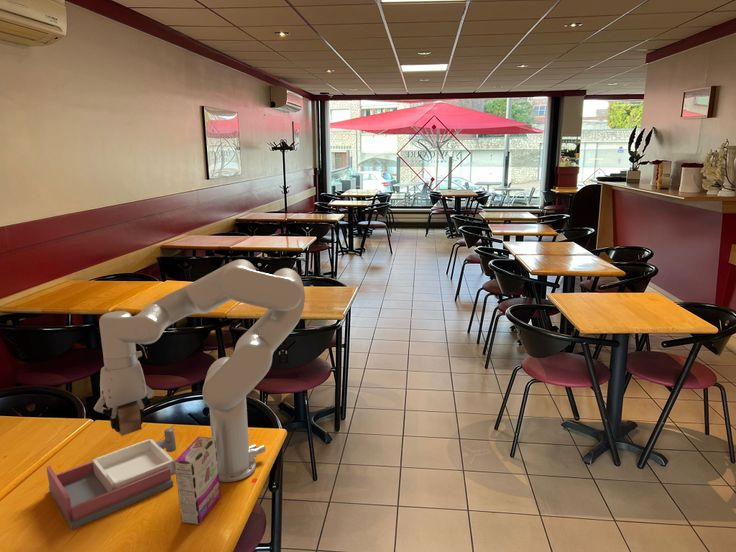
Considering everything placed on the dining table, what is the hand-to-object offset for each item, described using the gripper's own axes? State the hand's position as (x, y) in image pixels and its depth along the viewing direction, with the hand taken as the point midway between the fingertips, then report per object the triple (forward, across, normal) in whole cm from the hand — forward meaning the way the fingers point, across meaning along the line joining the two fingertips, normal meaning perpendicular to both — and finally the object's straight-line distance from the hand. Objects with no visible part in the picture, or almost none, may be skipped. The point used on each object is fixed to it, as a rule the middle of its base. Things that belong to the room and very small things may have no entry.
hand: (128, 425), depth 139 cm
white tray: (+14, -3, 0) cm, 14 cm away
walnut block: (+1, 0, 0) cm, 1 cm away
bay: (+16, +6, 0) cm, 17 cm away
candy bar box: (+16, -7, +24) cm, 30 cm away
